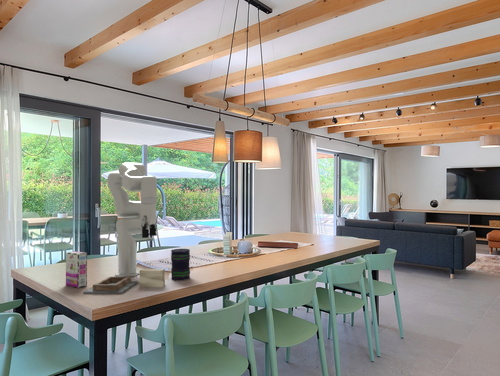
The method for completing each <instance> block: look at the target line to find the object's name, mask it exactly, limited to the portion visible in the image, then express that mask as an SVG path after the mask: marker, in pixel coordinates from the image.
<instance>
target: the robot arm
mask: <svg viewBox="0 0 500 376" xmlns="http://www.w3.org/2000/svg"><path fill="white" fill-rule="evenodd" d="M146 169H147V168H146V166H145V165H144V163H140V162H123V163H121V164H120V165H119V166H118V171H112V172H110V173H109V174H108V176H107V187H108V189H109V193H111V196H112V197H113V202H114V208H115V212H116V215H117V217H119V218H120V219H118V220H117V222H116V223H115V224H116V233H117V243H118V244H117V246H118V248H117V251H118V252H117V253H118V254H117V256H118V259H117V260H118V262H117V263H118V266H117V267H118V268H117V269H118V271H116V272H115V277H136V276H138V275H140V270H137V268H138V265H137V242H136V240H135V238H134V237H133V235H141V237H142V239H149V238H150V237H152V236H157V205H158V197H157V196H158V195H157V193H158V188H157V187H158V186H157V185H158V181H157V177H156V176H155V175H154V176H152V175H146V174H147V170H146ZM122 187H123V188H122ZM127 191H128V192H131V193H132V192H133V193H134V192H135V193H136V192H140V200H130V195H129V193H128V192H127Z"/></svg>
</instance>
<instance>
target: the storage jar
mask: <svg viewBox="0 0 500 376" xmlns="http://www.w3.org/2000/svg"><path fill="white" fill-rule="evenodd" d="M190 250H191V249H190V248H189V249H188V248H175V249H171V250H170V251H171V253H170V254H171V255H170V257H171V259H170V260H171V269H170V270H171V271H170V274H171V280H172V281H178V282H179V281H187V280H190V278H191V276H190V275H191V268H190V267H191V266H190V260H191V258H190V257H191V255H190V254H191V252H190Z"/></svg>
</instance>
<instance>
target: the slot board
mask: <svg viewBox="0 0 500 376" xmlns="http://www.w3.org/2000/svg"><path fill="white" fill-rule="evenodd" d="M137 284H140V280H132V276H130V277H118V276H111V275H110V276H107V277H105V278H104V279H101V280H100V281H98V282H96V283H94V284H92V287H89V288H87V289H86V290H84V291H83V294H85V295H87V294H88V295H91V294H93V295H96V294H97V295H124V293H126V292H127V291H129V290H130V289H132V288H134V287H135V286H136V285H137Z"/></svg>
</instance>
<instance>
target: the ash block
mask: <svg viewBox="0 0 500 376" xmlns="http://www.w3.org/2000/svg"><path fill="white" fill-rule="evenodd" d="M165 273H166V272H165V268H141V269H140V270H139V288H163V287H164V286H165V285H166V278H165V277H166V275H165Z"/></svg>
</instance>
